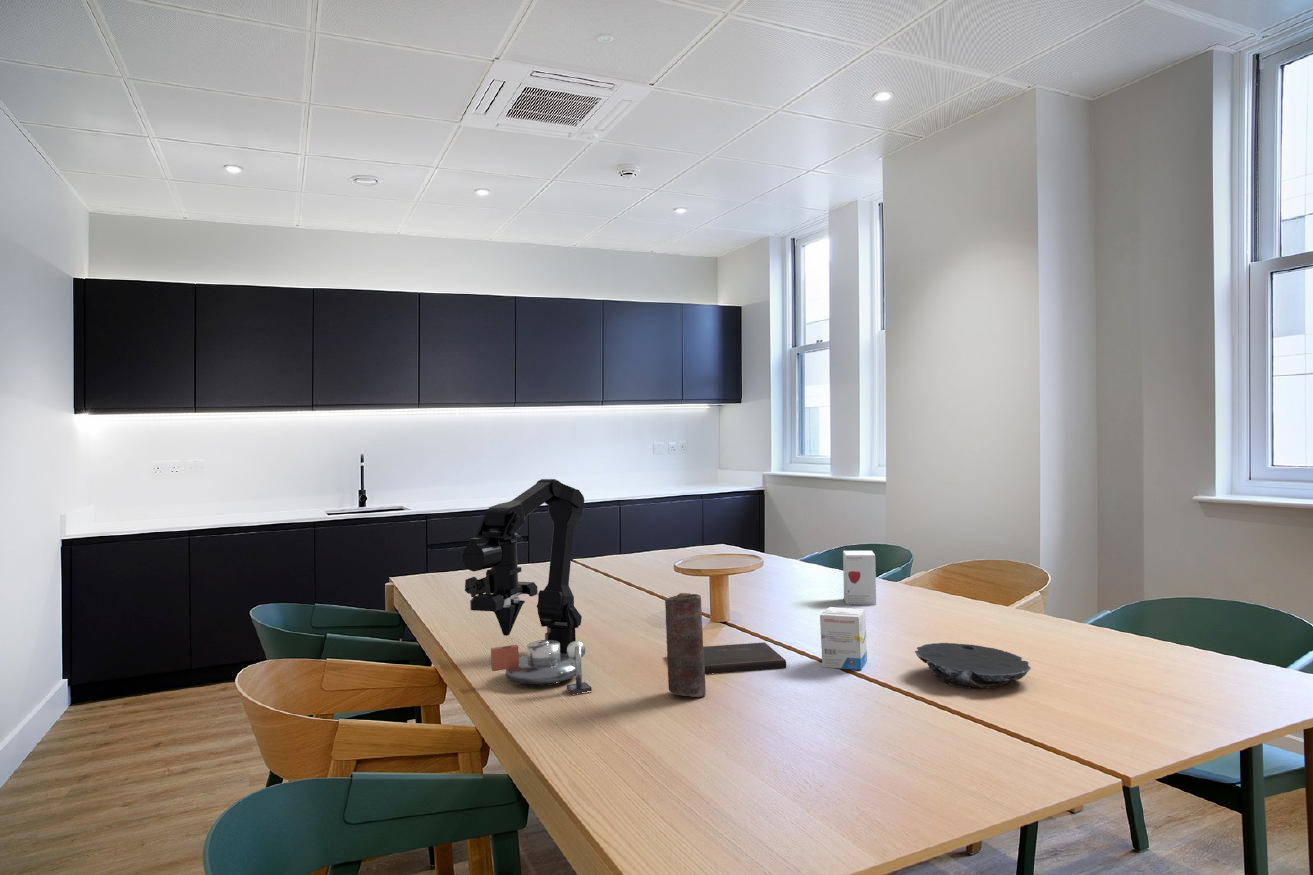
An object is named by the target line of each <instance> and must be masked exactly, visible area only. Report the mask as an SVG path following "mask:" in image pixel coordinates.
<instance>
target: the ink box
mask: <svg viewBox="0 0 1313 875" xmlns="http://www.w3.org/2000/svg"><path fill="white" fill-rule="evenodd" d="M866 611H867V610H866V609H865V608H864V609H861V608H860V609H859V608H850V607H849V608H848V607H834V606H829V607H828V608H826V609H825V610H824V611H823V612H822V613H820V615H819V624H820V640H821V642H820V644H821V663H822V664H821V665H822V668H831V669H839V670H840V669H841V670H842V669H843V670H851V671H852V670H853V671H854V670H855V671H858V670H859V671H862V670H863V668H864V667H865V665H866V664H867V661H868V652H867V651H868V650H867V648H868V647H867V621H866V620H867V619H866V618H867V616H866Z"/></svg>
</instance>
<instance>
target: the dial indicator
mask: <svg viewBox="0 0 1313 875" xmlns="http://www.w3.org/2000/svg"><path fill="white" fill-rule="evenodd" d="M567 654H568V656H569V657H570V658H572V659H574V660H575V664H574V663H571V665H572V666H573V667H575V668H576V676H575V683H572V684H566V691H567V690H568V691H567V692H569V691H570V692H571V693H572V694H577V693H582V692H587V691H592V690H593V689H592V686H590V684H588V683H587V682H586V681H584V682H583V680H582V679H583V676H582V658H583V657H584V656H585V655H586V646H585V645H584V644H583V643H582V642H580V641H579V640H576V641H573V642H571V643H570V644H569V645H568V647H567ZM570 692H569V693H570ZM592 692H593V691H592ZM571 693H570V694H571ZM572 694H571V695H572Z"/></svg>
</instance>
